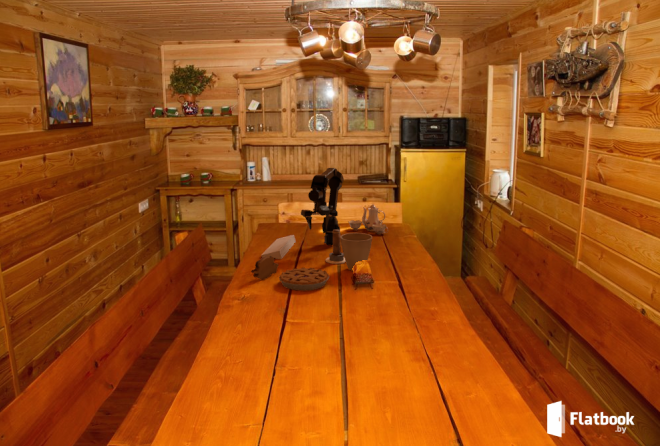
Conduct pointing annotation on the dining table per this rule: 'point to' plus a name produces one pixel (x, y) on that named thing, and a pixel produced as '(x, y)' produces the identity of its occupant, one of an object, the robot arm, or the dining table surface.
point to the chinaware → (370, 221)
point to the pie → (304, 278)
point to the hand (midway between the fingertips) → (318, 229)
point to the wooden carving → (265, 268)
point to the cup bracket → (336, 259)
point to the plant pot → (355, 247)
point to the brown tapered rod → (336, 242)
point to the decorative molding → (280, 247)
